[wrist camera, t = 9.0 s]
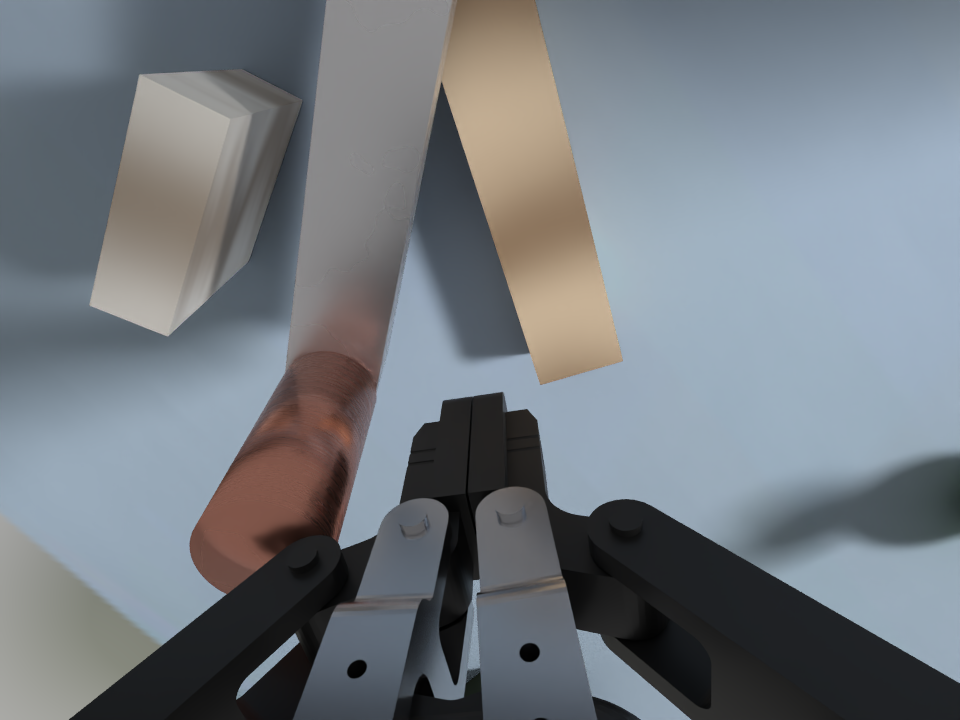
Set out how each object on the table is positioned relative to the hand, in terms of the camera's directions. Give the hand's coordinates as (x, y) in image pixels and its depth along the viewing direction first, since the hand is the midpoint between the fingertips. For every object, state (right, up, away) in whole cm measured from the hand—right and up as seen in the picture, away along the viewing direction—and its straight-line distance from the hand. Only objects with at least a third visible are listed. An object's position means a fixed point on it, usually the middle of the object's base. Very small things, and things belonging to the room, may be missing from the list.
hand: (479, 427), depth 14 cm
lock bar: (-3, +8, +2) cm, 8 cm away
